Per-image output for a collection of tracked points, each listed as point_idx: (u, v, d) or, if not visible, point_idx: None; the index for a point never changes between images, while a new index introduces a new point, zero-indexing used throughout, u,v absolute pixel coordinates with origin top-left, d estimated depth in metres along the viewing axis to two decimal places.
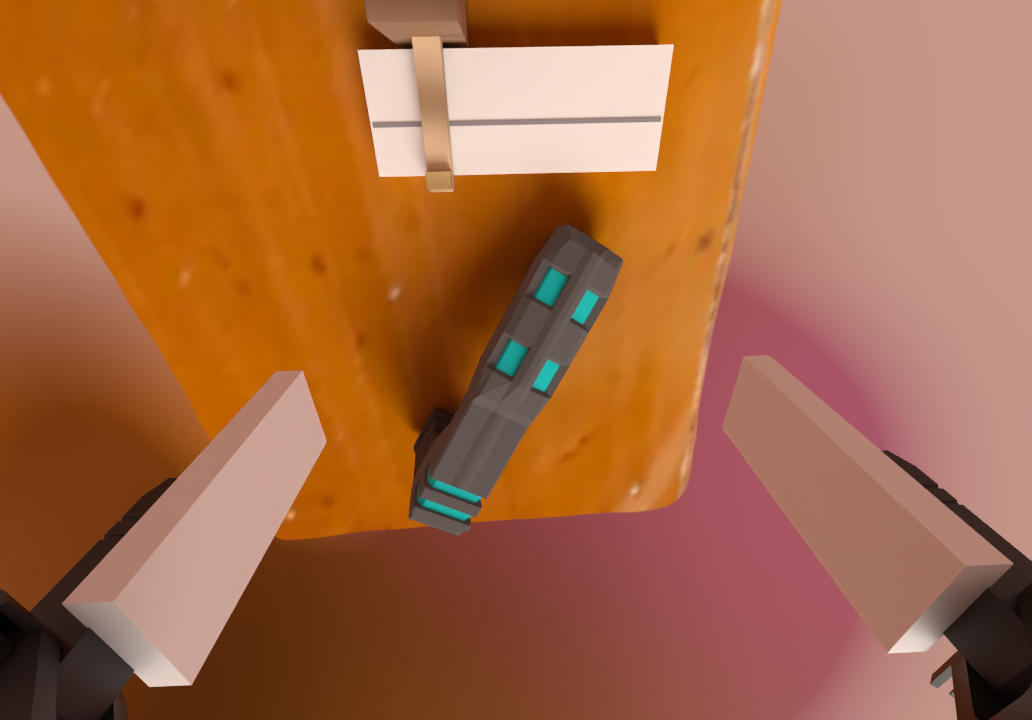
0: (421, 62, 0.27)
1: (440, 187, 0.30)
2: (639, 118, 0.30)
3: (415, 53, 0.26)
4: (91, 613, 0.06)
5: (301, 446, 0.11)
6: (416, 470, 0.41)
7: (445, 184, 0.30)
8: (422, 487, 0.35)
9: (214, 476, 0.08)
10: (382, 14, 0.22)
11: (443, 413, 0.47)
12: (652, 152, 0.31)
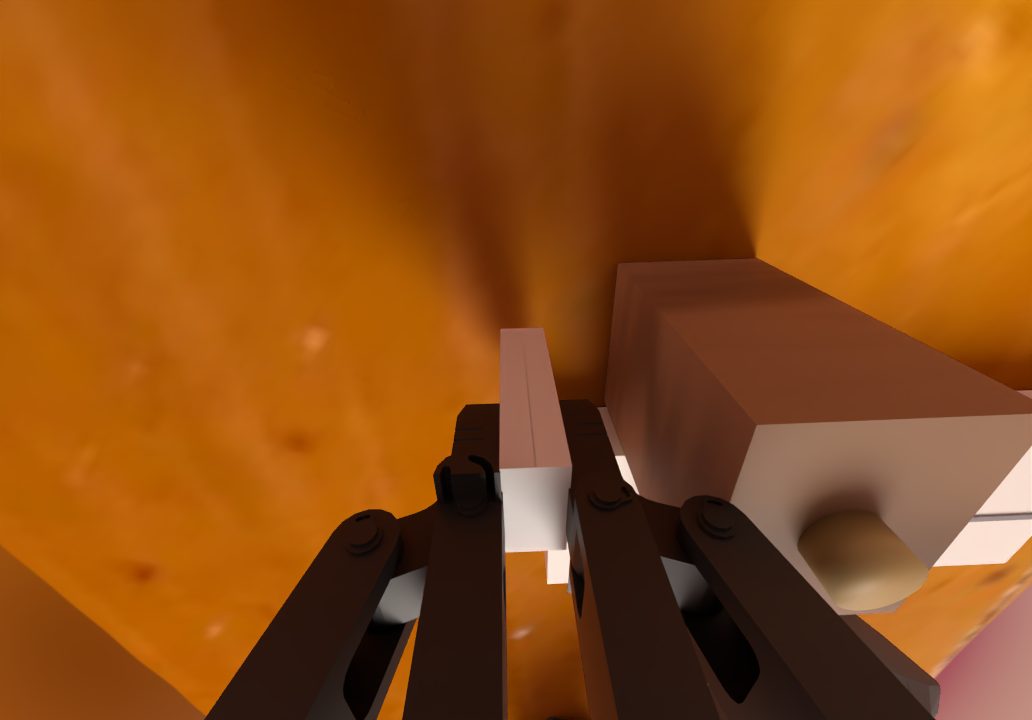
0: None
1: None
2: (1015, 516, 0.17)
3: None
4: (515, 477, 0.08)
5: None
6: None
7: None
8: None
9: (529, 396, 0.10)
10: None
11: None
12: (1011, 546, 0.19)
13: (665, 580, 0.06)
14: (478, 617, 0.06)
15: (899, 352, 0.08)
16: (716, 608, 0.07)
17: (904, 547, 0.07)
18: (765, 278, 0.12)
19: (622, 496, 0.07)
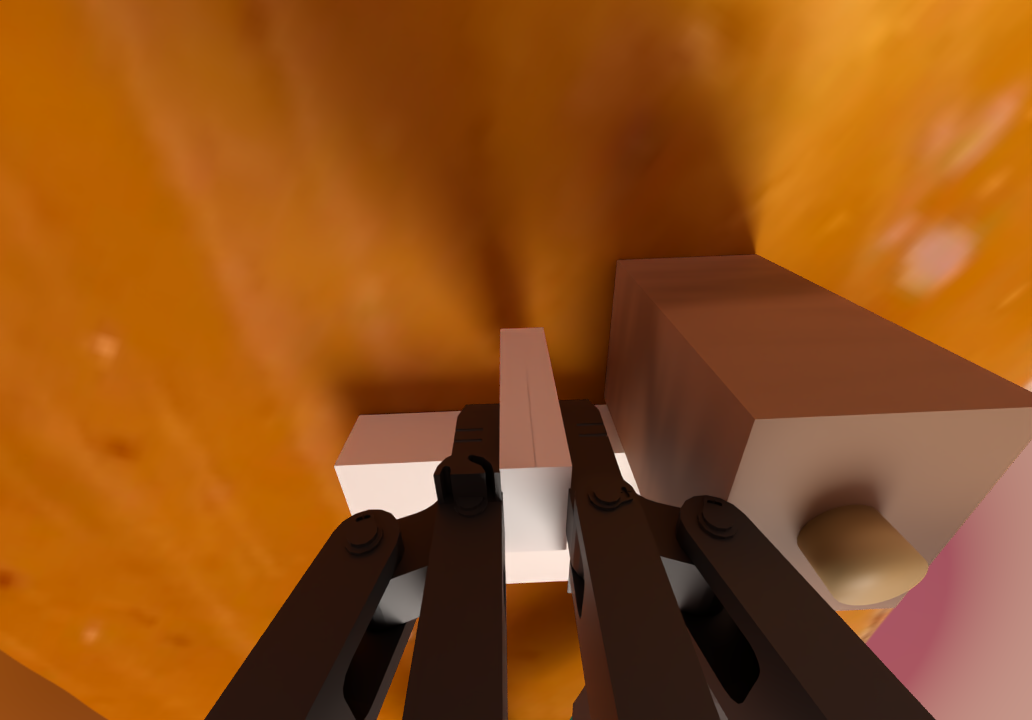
0: None
1: None
2: None
3: None
4: (515, 478, 0.08)
5: None
6: None
7: None
8: None
9: (529, 396, 0.10)
10: None
11: None
12: None
13: (665, 580, 0.06)
14: (478, 617, 0.06)
15: (899, 347, 0.08)
16: (716, 608, 0.07)
17: (904, 542, 0.07)
18: (765, 274, 0.12)
19: (622, 496, 0.07)
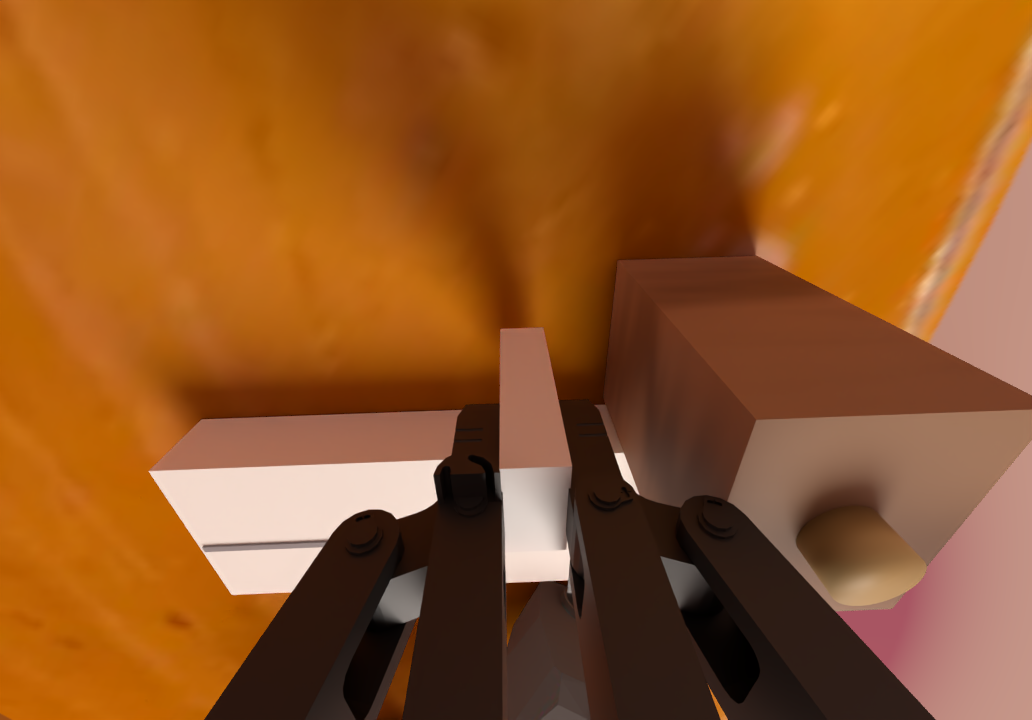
0: None
1: None
2: None
3: None
4: (515, 477, 0.08)
5: None
6: None
7: None
8: None
9: (529, 396, 0.10)
10: None
11: None
12: None
13: (665, 580, 0.06)
14: (478, 617, 0.06)
15: (898, 349, 0.08)
16: (716, 608, 0.07)
17: (902, 542, 0.07)
18: (765, 275, 0.12)
19: (622, 496, 0.07)
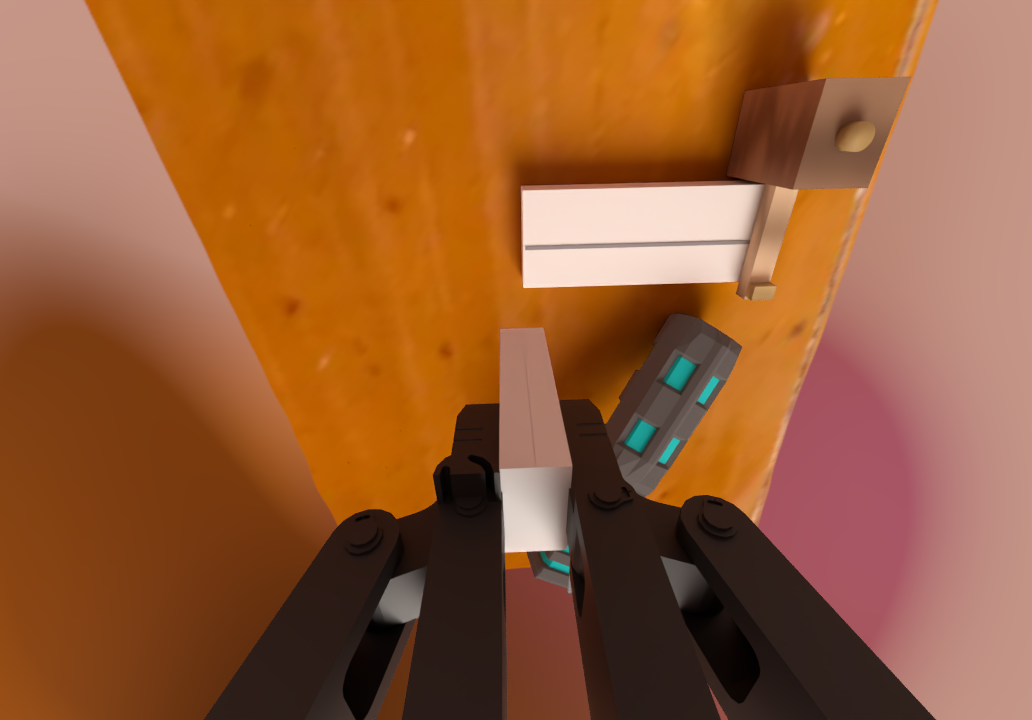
0: (778, 200, 0.31)
1: (763, 298, 0.34)
2: None
3: (775, 194, 0.30)
4: (514, 477, 0.08)
5: None
6: None
7: (768, 296, 0.34)
8: None
9: (528, 396, 0.10)
10: (807, 184, 0.26)
11: None
12: None
13: (665, 580, 0.06)
14: (478, 617, 0.06)
15: None
16: (716, 608, 0.07)
17: None
18: None
19: (622, 496, 0.07)
